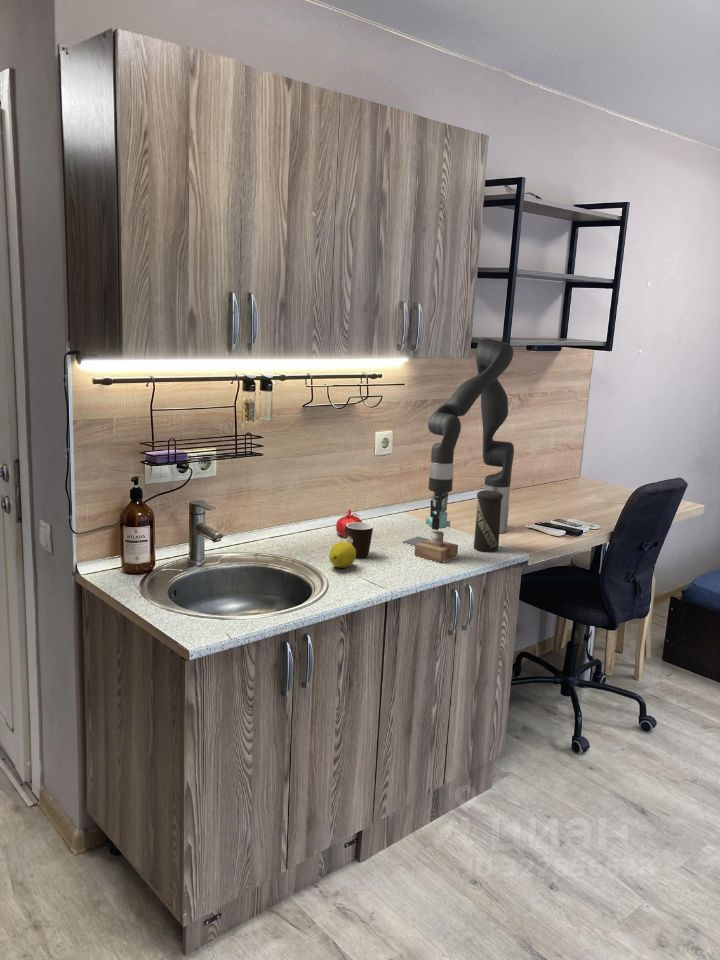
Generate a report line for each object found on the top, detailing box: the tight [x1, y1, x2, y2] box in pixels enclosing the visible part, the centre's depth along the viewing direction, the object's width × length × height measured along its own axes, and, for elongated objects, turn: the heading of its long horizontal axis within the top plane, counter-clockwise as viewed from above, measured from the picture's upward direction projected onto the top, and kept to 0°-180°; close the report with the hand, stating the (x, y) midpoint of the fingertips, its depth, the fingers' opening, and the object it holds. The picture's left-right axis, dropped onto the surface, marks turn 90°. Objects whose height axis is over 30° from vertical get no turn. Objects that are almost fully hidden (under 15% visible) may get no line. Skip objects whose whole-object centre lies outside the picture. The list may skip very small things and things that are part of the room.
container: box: [473, 489, 503, 553], centre depth 265 cm, size 9×9×20 cm
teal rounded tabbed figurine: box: [425, 511, 451, 530], centre depth 253 cm, size 8×6×4 cm
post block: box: [414, 530, 459, 564], centre depth 255 cm, size 10×10×8 cm
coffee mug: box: [345, 521, 374, 560], centre depth 253 cm, size 12×9×10 cm
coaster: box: [402, 536, 431, 547], centre depth 270 cm, size 9×9×1 cm
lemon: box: [328, 540, 357, 569], centre depth 239 cm, size 11×8×8 cm
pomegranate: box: [335, 509, 364, 539], centre depth 274 cm, size 10×10×9 cm
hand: (437, 527), depth 254 cm, fingers closed on teal rounded tabbed figurine, 5 cm apart
